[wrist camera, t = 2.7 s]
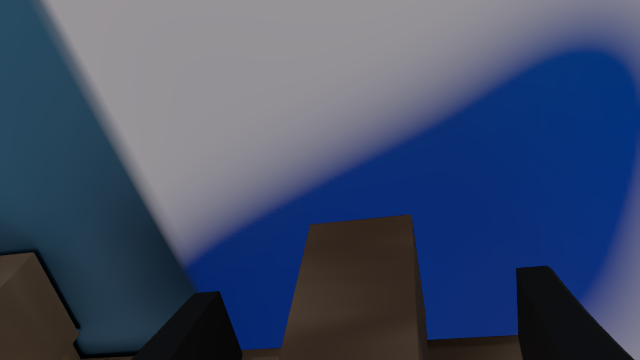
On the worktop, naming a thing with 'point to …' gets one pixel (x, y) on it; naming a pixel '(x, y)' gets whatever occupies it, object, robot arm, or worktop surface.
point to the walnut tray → (368, 301)
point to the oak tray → (33, 314)
